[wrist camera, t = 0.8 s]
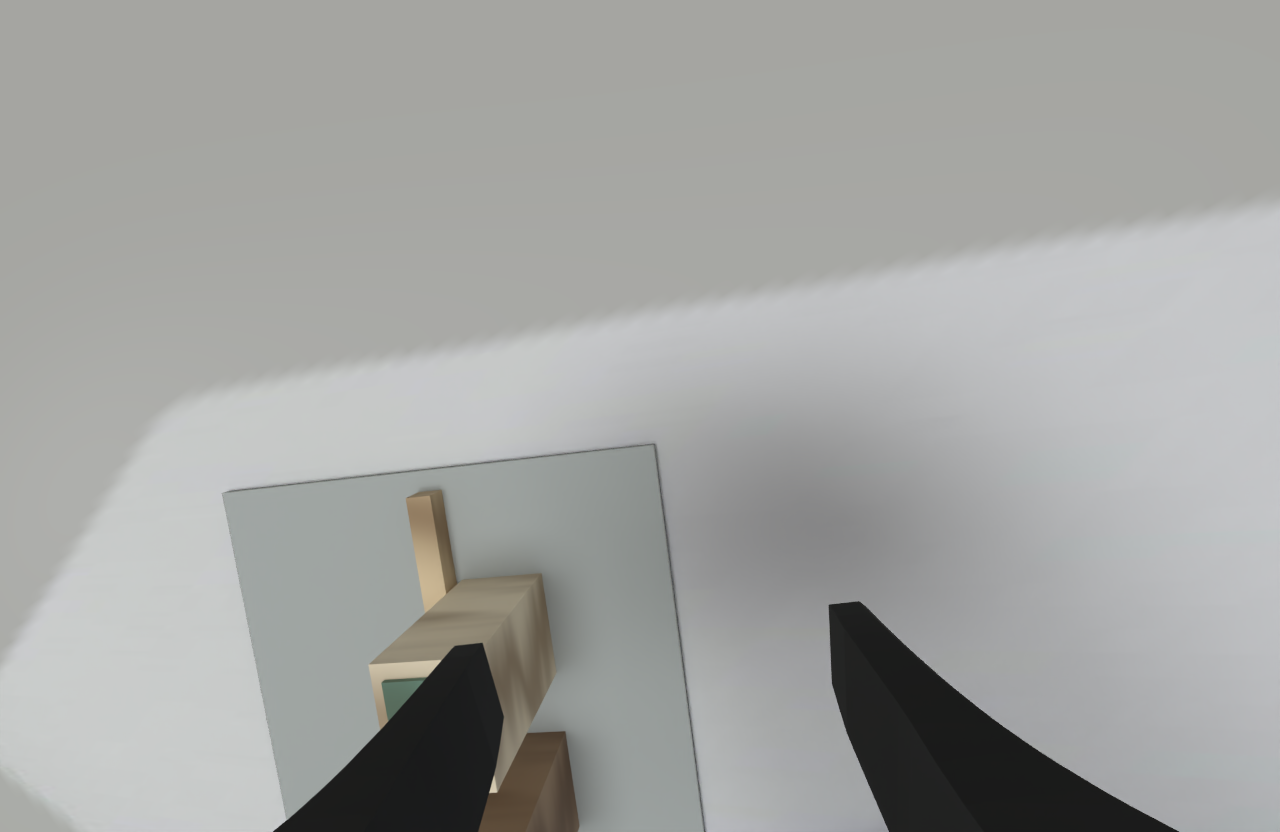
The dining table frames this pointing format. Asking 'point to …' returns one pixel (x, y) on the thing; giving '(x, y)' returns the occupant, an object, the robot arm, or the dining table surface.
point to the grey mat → (481, 548)
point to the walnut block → (535, 789)
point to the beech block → (513, 643)
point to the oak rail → (431, 545)
